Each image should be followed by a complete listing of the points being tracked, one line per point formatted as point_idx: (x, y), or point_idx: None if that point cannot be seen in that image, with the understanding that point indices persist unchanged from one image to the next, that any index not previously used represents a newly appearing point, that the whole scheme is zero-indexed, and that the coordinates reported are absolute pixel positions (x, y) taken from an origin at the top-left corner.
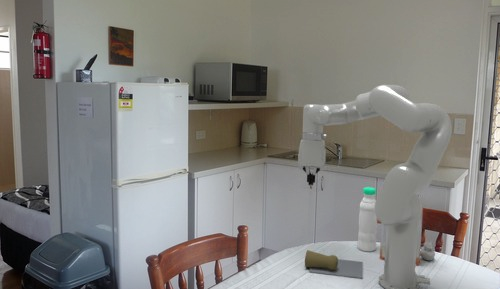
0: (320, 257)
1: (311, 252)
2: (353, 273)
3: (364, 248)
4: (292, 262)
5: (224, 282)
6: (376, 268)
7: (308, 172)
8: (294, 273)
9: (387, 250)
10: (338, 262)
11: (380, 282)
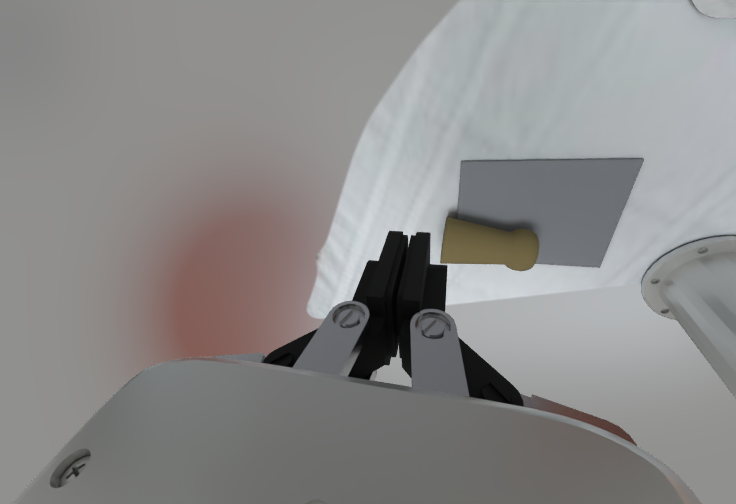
0: (484, 263)
1: (456, 257)
2: (579, 248)
3: (719, 17)
4: (404, 212)
5: (310, 314)
6: (682, 190)
7: (363, 374)
8: None
9: (716, 370)
10: (544, 188)
11: (644, 294)
